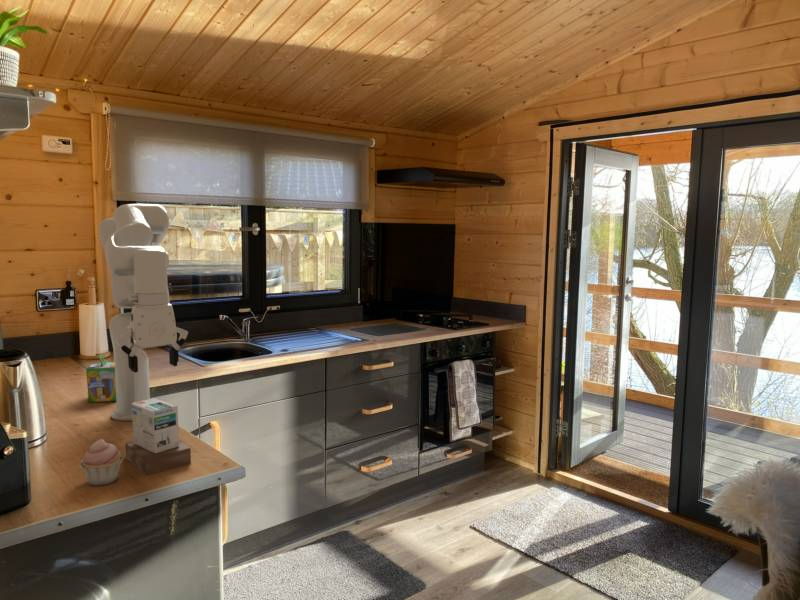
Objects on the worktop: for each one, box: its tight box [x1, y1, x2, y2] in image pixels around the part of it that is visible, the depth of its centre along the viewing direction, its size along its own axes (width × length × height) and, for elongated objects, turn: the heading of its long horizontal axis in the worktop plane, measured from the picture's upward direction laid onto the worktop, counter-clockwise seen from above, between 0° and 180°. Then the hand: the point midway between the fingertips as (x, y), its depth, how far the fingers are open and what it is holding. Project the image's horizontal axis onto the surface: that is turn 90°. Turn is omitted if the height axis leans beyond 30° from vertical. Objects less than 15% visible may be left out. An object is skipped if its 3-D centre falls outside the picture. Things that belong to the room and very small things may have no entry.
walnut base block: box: [124, 440, 192, 476], centre depth 158 cm, size 14×11×4 cm
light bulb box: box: [132, 397, 180, 453], centre depth 157 cm, size 11×7×11 cm, turn 51°
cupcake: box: [78, 438, 125, 487], centre depth 146 cm, size 9×9×10 cm
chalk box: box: [85, 353, 116, 404], centre depth 208 cm, size 9×9×15 cm
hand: (154, 368), depth 155 cm, fingers open, 9 cm apart
